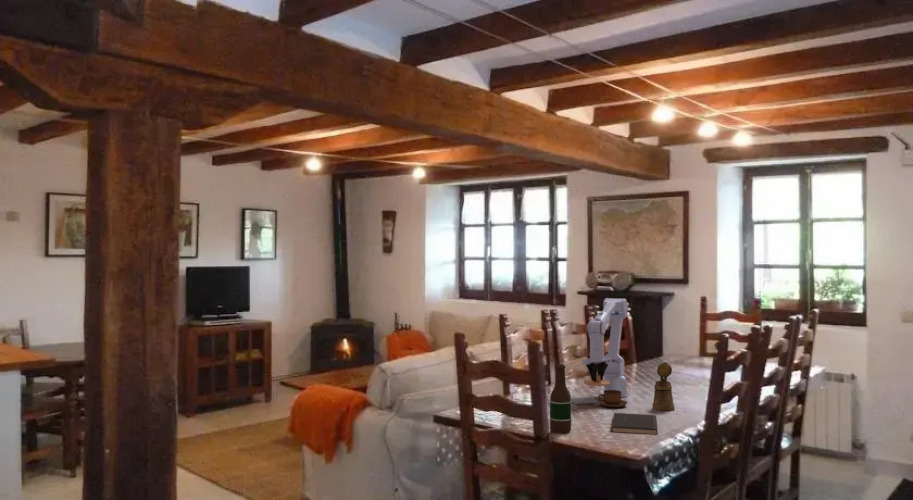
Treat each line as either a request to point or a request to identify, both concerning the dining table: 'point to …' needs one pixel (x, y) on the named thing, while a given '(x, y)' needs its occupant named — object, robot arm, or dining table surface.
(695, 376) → the dining table surface
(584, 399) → the coaster
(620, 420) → the hardcover book
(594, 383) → the lid
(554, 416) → the beer bottle
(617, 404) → the cup and saucer
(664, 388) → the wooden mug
